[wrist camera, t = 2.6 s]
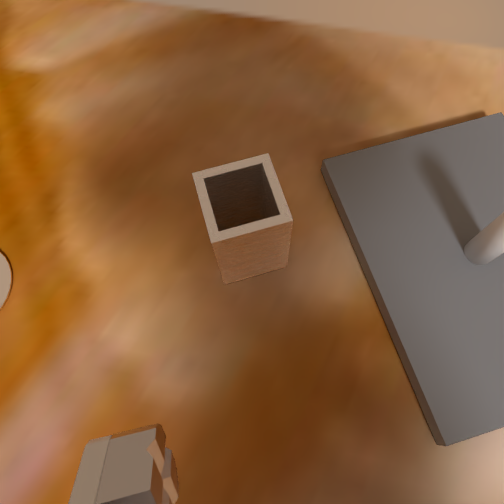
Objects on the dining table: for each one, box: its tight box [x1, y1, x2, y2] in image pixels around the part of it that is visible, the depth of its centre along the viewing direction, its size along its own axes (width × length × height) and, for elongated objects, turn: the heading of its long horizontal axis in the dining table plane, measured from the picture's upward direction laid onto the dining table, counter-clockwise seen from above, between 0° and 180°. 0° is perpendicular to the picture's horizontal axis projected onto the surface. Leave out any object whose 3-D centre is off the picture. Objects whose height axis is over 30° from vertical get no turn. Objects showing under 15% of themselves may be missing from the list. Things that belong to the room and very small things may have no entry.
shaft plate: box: [321, 112, 504, 446], centre depth 26 cm, size 22×16×10 cm
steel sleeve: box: [192, 153, 293, 285], centre depth 28 cm, size 5×5×8 cm
